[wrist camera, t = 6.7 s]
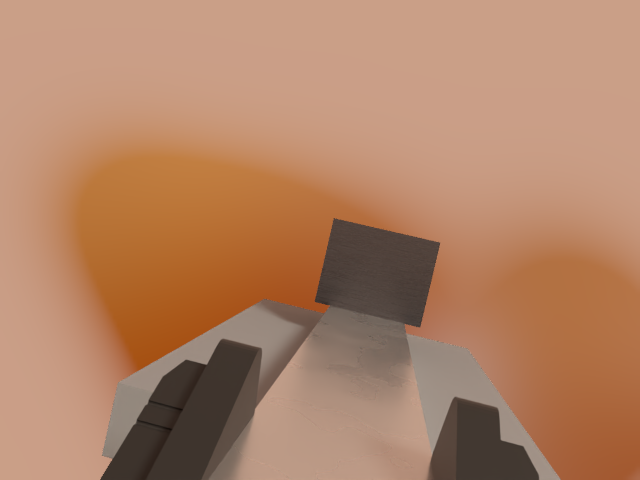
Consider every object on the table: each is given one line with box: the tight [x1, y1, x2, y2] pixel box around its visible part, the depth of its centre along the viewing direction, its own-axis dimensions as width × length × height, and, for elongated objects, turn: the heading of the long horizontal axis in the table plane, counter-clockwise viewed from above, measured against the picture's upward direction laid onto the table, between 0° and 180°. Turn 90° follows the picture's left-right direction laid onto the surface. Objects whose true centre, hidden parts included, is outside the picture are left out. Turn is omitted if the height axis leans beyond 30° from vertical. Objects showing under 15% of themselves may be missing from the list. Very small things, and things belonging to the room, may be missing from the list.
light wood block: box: [208, 218, 440, 480], centre depth 20 cm, size 28×5×6 cm, turn 174°
